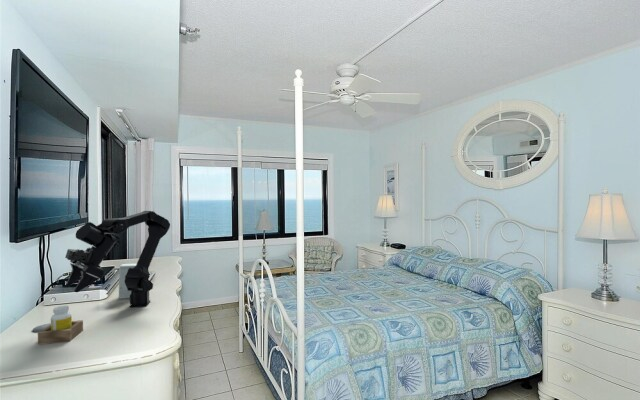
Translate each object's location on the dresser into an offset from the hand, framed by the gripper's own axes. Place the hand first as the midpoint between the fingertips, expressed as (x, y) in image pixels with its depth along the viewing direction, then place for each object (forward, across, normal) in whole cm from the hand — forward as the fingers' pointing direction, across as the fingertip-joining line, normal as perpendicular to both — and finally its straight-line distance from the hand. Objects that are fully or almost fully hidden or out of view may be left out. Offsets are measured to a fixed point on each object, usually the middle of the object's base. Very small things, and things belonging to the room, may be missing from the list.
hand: (71, 288), depth 118 cm
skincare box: (-3, -20, +31) cm, 38 cm away
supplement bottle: (+14, +9, +3) cm, 17 cm away
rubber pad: (+15, -4, +2) cm, 16 cm away
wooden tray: (+13, +9, +3) cm, 17 cm away
